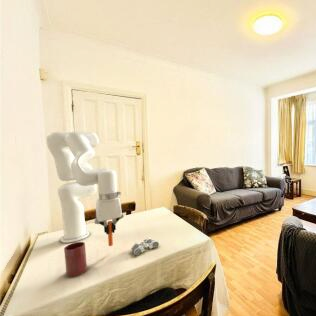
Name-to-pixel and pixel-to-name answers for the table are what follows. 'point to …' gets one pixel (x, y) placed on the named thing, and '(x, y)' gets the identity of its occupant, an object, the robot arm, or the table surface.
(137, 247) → the binoculars
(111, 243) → the solid orange cylinder
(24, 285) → the table surface
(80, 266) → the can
